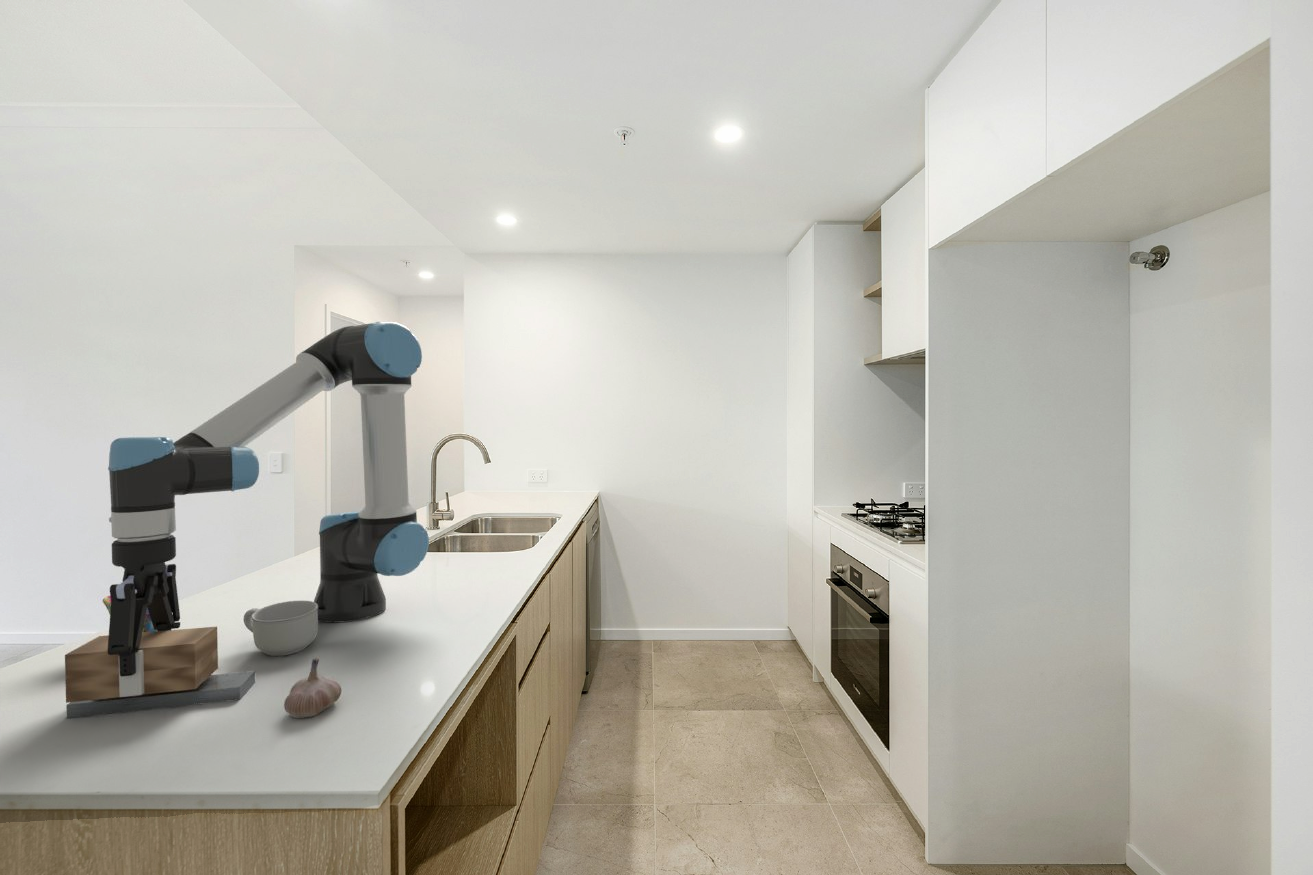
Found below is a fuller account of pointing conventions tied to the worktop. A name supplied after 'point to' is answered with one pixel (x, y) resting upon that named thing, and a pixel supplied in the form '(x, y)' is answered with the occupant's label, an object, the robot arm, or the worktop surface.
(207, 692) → the mount rail
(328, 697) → the garlic bulb
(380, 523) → the robot arm
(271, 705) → the worktop surface
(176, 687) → the brown wooden block
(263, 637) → the teacup
